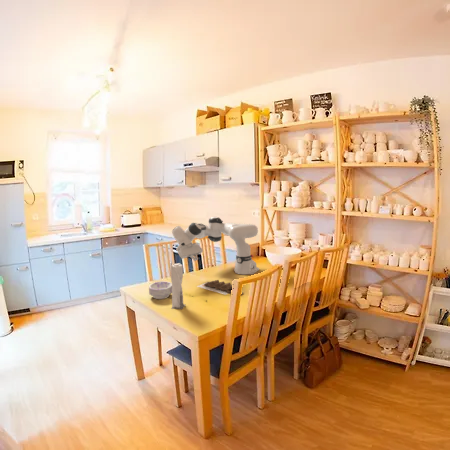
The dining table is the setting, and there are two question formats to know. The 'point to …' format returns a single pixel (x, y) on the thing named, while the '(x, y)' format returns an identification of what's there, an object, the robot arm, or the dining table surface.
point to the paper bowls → (160, 289)
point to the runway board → (213, 289)
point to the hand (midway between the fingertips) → (196, 260)
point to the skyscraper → (177, 286)
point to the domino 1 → (211, 283)
